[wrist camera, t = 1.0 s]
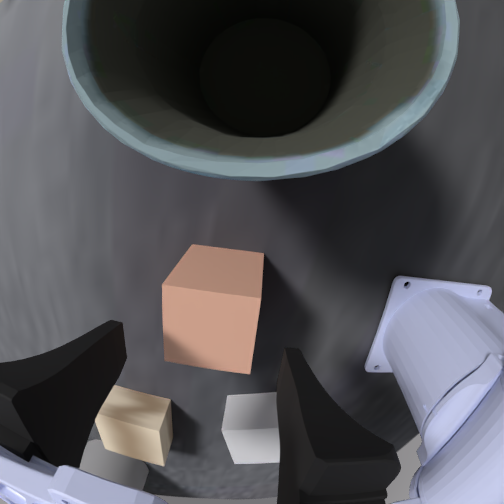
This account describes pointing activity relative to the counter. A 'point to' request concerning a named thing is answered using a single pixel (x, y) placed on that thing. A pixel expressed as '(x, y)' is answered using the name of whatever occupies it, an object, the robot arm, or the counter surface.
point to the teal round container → (259, 78)
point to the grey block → (252, 428)
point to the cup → (113, 465)
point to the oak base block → (136, 425)
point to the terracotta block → (213, 308)
